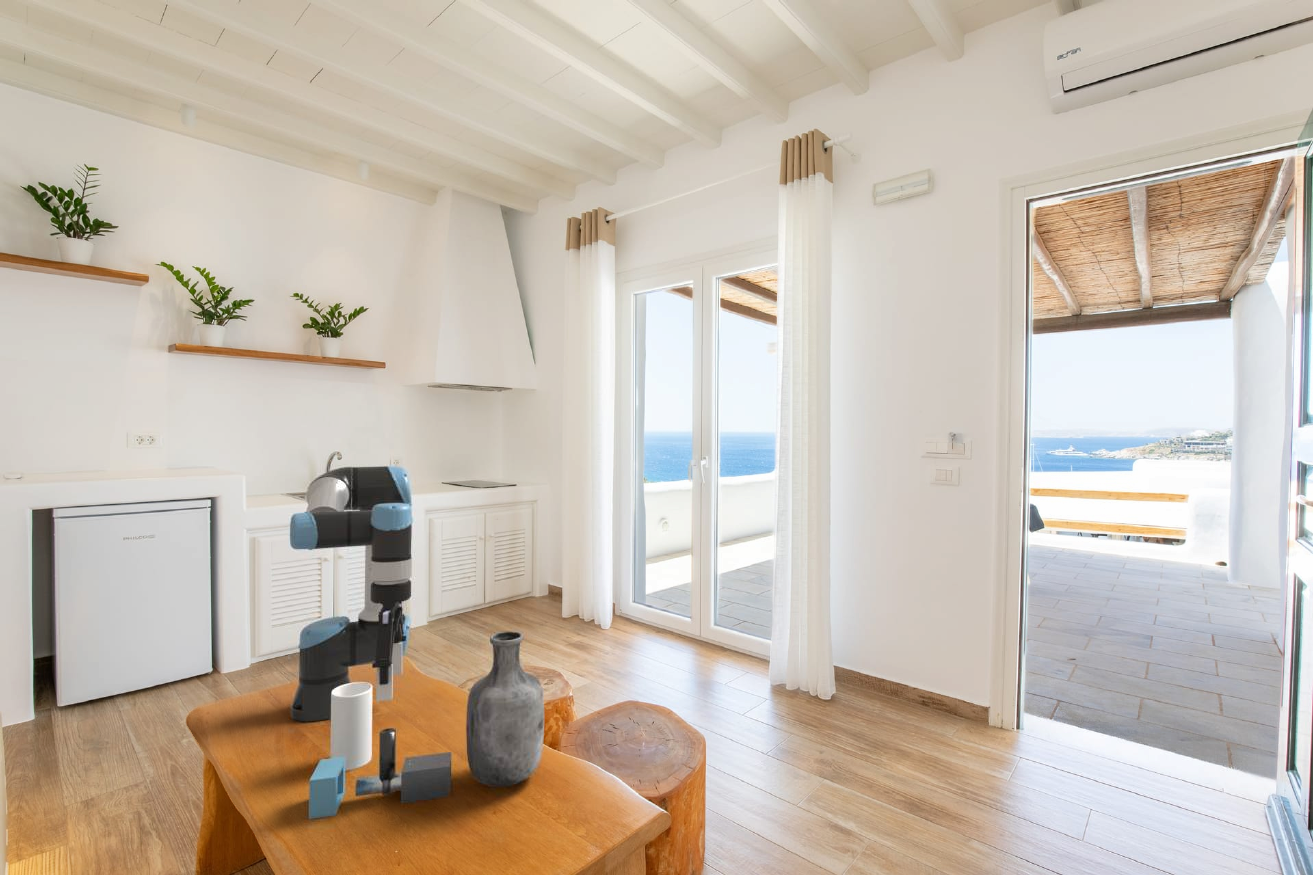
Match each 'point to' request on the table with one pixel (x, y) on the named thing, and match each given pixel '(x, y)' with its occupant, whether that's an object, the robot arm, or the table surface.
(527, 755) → the vase
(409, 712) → the table surface
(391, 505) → the robot arm
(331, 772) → the socket
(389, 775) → the handle
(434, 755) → the block
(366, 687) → the cup
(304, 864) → the table surface
